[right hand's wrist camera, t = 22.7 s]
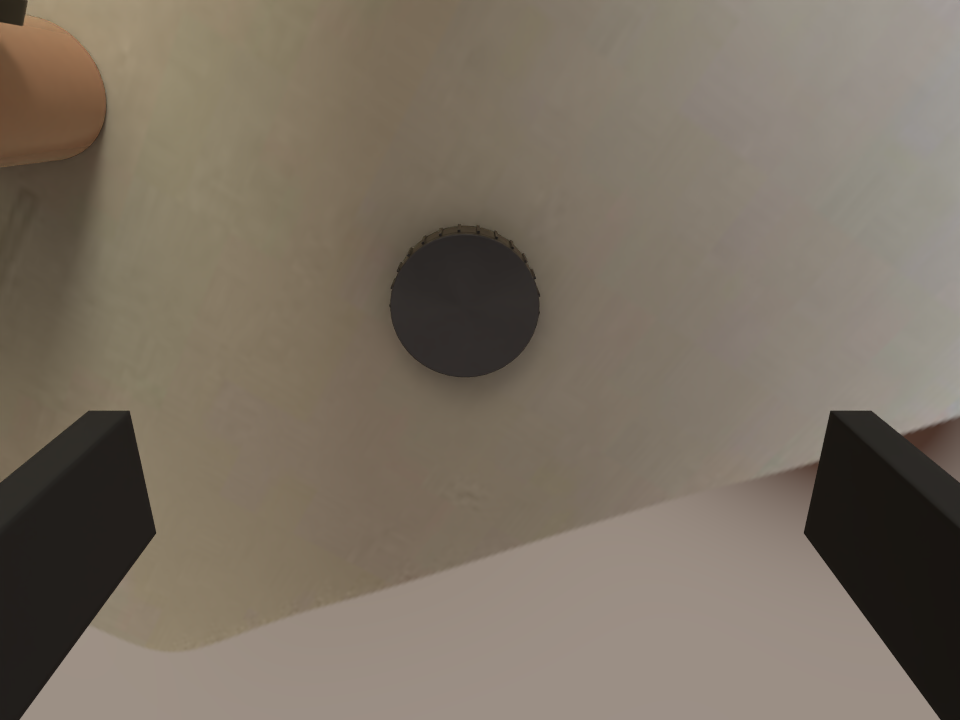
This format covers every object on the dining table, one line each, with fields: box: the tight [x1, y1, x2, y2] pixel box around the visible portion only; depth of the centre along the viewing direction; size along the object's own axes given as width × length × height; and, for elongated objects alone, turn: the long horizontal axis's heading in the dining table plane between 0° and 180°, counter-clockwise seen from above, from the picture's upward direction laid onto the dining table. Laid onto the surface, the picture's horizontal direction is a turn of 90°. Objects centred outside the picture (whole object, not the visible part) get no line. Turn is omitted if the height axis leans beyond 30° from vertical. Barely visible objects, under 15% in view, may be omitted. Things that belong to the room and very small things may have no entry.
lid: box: [390, 224, 540, 377], centre depth 27 cm, size 6×6×2 cm
